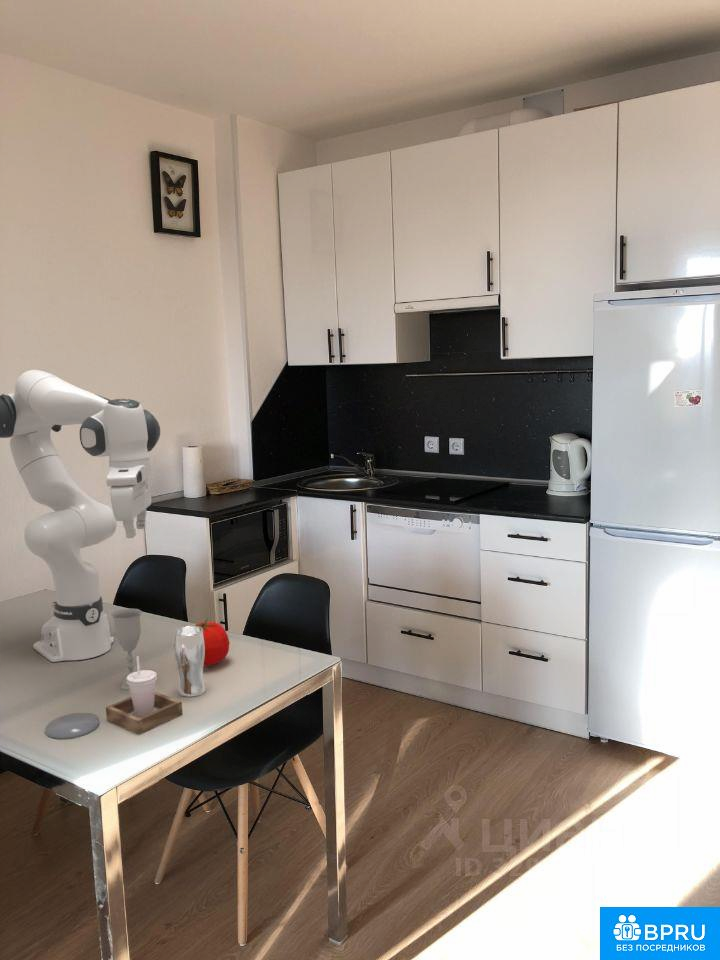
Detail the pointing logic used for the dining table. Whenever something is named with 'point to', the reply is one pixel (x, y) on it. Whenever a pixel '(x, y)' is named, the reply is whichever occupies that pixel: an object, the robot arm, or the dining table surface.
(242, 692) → the dining table surface
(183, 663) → the beer glass
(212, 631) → the tomato
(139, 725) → the wooden serving tray
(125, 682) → the chalice
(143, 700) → the smoothie
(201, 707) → the dining table surface
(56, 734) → the disc
